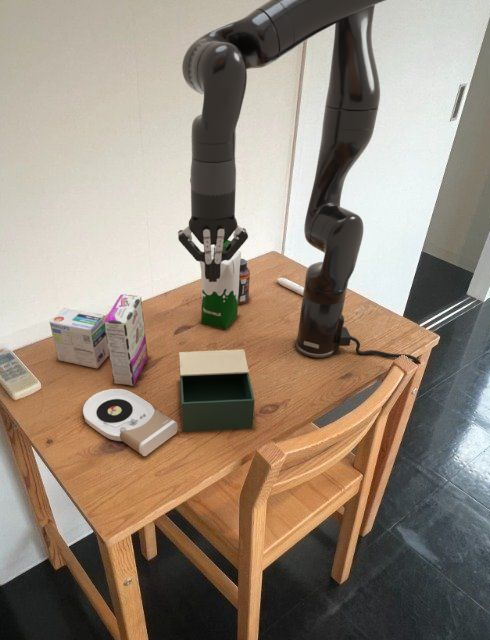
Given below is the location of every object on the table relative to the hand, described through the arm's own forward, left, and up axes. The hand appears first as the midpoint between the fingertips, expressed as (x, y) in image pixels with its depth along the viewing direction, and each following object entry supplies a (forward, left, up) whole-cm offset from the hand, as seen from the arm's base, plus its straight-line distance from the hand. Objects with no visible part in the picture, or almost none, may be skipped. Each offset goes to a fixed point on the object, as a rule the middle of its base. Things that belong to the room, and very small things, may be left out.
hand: (212, 280), depth 97 cm
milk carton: (-4, -26, -25) cm, 36 cm away
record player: (+18, +11, -25) cm, 33 cm away
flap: (0, +3, -17) cm, 18 cm away
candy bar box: (+18, -6, -25) cm, 31 cm away
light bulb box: (+29, -12, -25) cm, 40 cm away
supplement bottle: (-10, -36, -25) cm, 45 cm away
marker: (-28, -38, -25) cm, 54 cm away
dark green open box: (0, +7, -25) cm, 26 cm away
